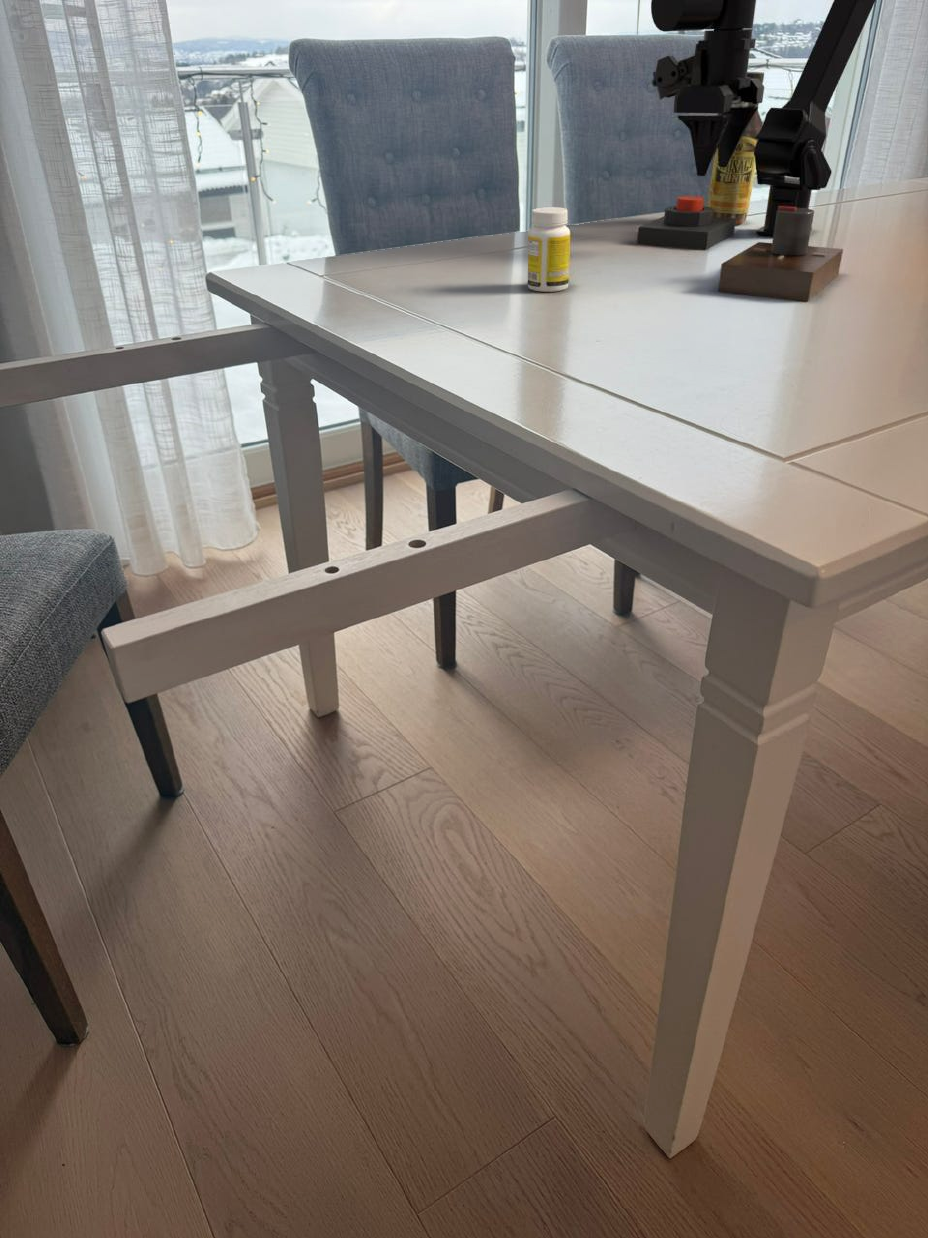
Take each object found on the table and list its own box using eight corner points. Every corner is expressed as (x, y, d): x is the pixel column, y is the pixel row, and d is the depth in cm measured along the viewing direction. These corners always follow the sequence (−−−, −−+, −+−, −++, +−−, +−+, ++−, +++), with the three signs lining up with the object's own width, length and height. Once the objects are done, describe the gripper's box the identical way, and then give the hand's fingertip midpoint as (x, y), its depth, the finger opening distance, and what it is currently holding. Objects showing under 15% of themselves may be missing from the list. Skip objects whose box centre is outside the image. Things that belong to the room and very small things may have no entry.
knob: (811, 250, 105) (819, 205, 102) (801, 257, 102) (809, 211, 99) (776, 247, 106) (783, 203, 104) (766, 253, 104) (773, 208, 101)
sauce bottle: (704, 225, 136) (722, 72, 125) (705, 218, 141) (722, 70, 130) (749, 226, 135) (771, 71, 124) (748, 219, 140) (769, 70, 129)
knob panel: (754, 267, 112) (758, 240, 110) (838, 275, 107) (843, 247, 105) (717, 291, 102) (721, 262, 100) (808, 301, 97) (813, 270, 95)
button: (681, 208, 128) (682, 195, 127) (705, 210, 126) (707, 196, 125) (672, 212, 125) (673, 198, 124) (697, 214, 124) (698, 200, 123)
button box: (668, 229, 134) (670, 200, 132) (733, 234, 130) (738, 204, 128) (636, 243, 126) (639, 212, 124) (706, 249, 121) (709, 217, 119)
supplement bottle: (572, 284, 106) (575, 206, 102) (562, 293, 102) (566, 213, 98) (533, 282, 107) (534, 205, 103) (522, 291, 104) (523, 212, 99)
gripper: (688, 30, 120) (676, 160, 129) (638, 32, 107) (628, 177, 115) (773, 27, 115) (755, 163, 124) (731, 29, 102) (714, 181, 110)
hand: (712, 171), depth 118 cm, fingers open, 9 cm apart
